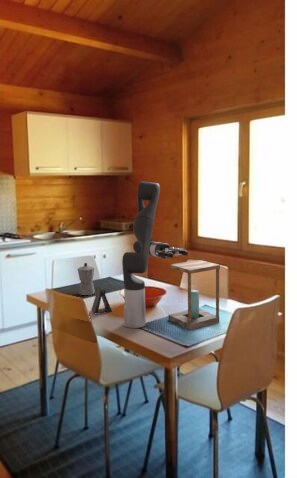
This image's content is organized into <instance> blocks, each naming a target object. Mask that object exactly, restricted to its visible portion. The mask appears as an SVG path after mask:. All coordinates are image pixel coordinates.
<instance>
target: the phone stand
mask: <svg viewBox="0 0 297 478" xmlns="http://www.w3.org/2000/svg"><path fill="white" fill-rule="evenodd" d="M94 296H95V297H94V299H93V303H92V307H91V310H92V311H91V310H90V311H91V312H92V313H93V314H94V313H100V314H105V313H104V312H107V313H112V312H113V310H112V308H111V306H110V304H109V301H108V298H107V295H106V290H105V289H104V288H103V286H97V287H96V290H95V295H94ZM101 299H102V303H103V306H104V308H100V304H101Z"/></svg>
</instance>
